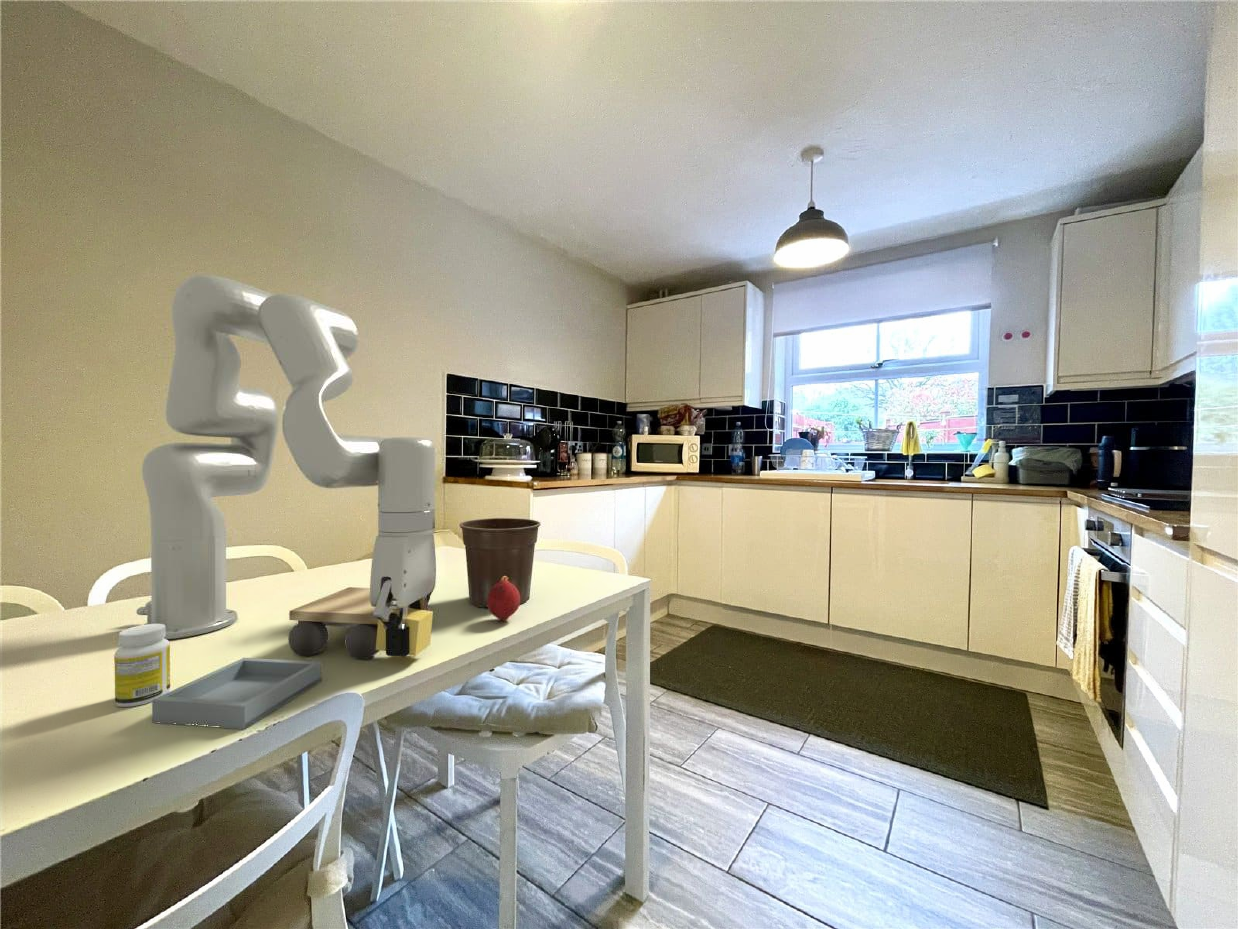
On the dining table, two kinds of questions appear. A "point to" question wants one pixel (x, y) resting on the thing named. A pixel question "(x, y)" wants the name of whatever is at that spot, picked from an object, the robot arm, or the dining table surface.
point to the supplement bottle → (141, 665)
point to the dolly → (336, 623)
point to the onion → (503, 599)
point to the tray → (237, 693)
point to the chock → (411, 631)
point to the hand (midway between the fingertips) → (406, 647)
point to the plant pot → (499, 555)
